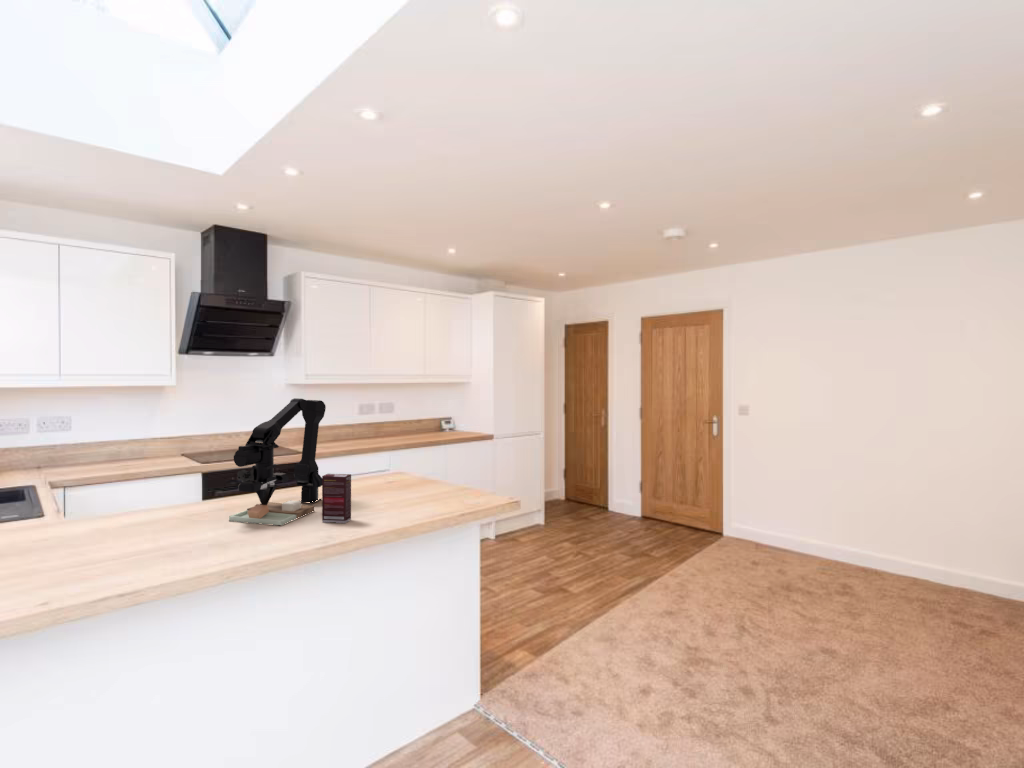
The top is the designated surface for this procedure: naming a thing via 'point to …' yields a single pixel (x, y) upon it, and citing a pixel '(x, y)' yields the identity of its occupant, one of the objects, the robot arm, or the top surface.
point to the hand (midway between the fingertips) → (264, 506)
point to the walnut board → (278, 509)
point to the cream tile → (291, 505)
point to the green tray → (263, 518)
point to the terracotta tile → (258, 511)
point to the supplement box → (336, 498)
